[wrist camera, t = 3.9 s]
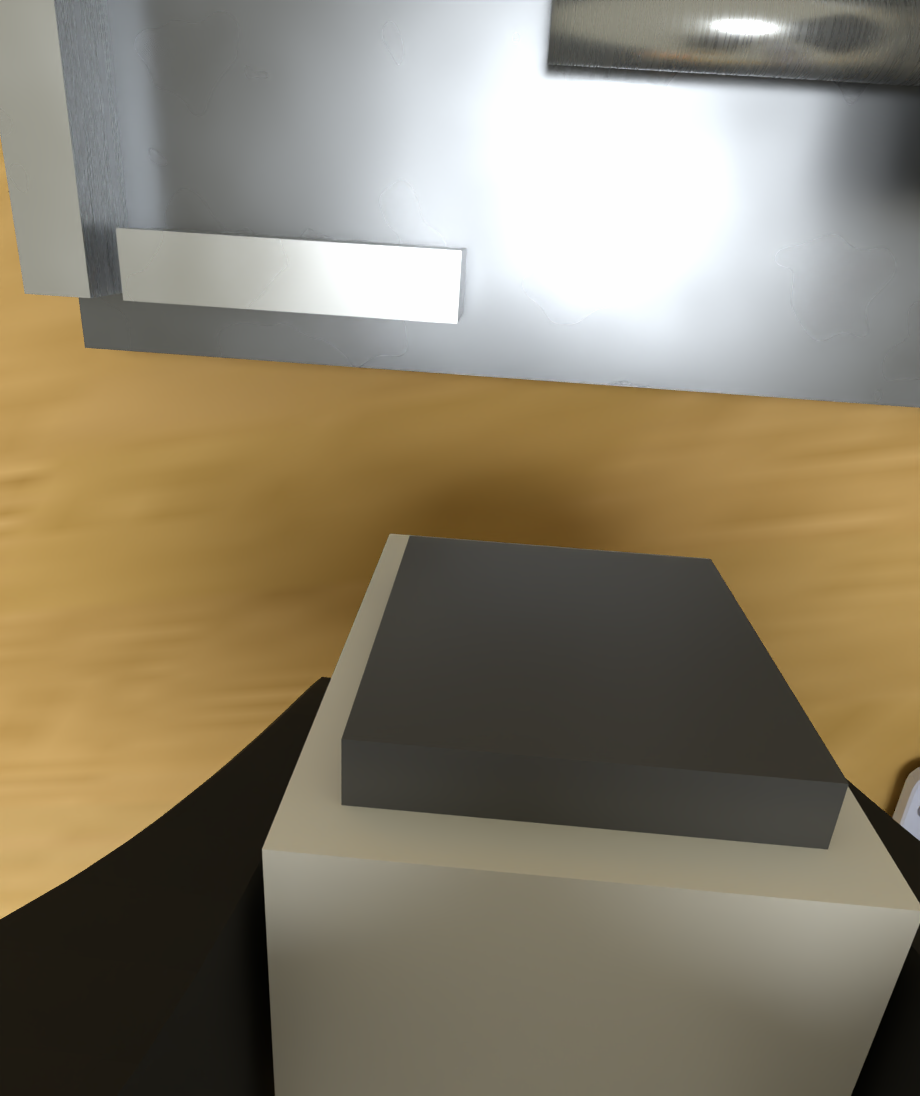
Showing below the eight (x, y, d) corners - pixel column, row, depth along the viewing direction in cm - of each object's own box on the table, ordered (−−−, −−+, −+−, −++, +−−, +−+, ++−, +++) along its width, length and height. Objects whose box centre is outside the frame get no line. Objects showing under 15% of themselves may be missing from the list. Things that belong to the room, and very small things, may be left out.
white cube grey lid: (657, 812, 12) (777, 1280, 7) (382, 787, 13) (281, 1224, 7) (717, 518, 10) (951, 841, 5) (390, 493, 11) (258, 779, 5)
